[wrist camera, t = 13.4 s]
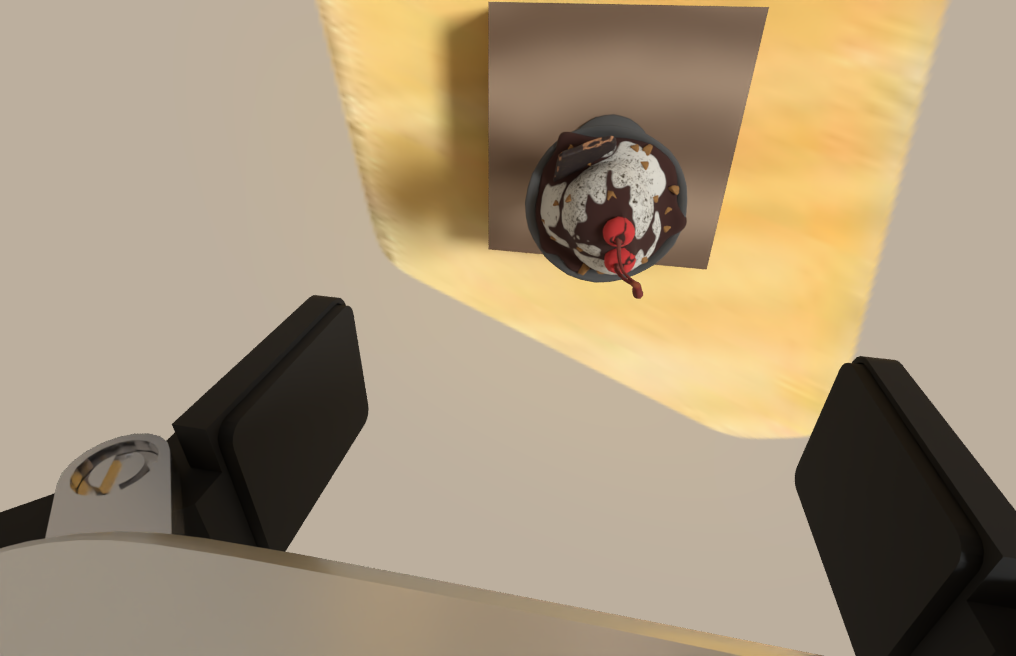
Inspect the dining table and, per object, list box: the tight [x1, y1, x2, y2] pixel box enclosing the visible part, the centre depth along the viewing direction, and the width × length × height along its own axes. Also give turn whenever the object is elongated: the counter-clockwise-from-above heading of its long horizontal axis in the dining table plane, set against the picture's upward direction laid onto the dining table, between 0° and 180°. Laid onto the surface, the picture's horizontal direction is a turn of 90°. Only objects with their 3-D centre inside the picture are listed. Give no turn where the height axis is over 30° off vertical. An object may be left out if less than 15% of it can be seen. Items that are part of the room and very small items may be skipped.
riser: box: [489, 2, 769, 269], centre depth 32 cm, size 14×14×4 cm
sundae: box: [525, 114, 687, 299], centre depth 24 cm, size 7×7×15 cm
